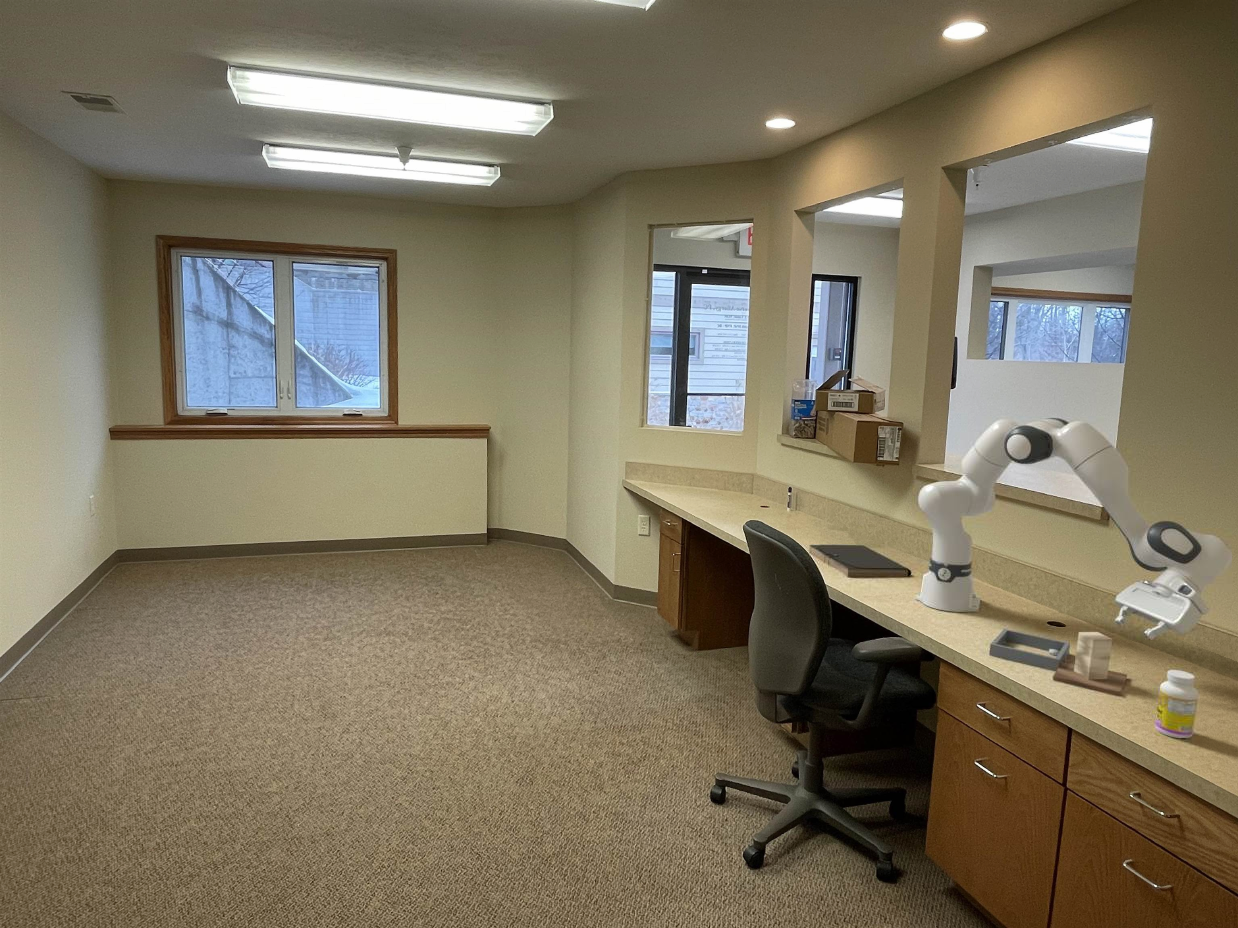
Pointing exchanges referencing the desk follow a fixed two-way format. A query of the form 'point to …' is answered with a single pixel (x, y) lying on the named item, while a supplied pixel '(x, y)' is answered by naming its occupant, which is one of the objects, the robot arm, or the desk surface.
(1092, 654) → the block
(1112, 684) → the walnut board
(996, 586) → the desk surface
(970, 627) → the desk surface
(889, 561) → the dark flat wooden case
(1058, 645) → the parts tub
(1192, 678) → the supplement bottle
